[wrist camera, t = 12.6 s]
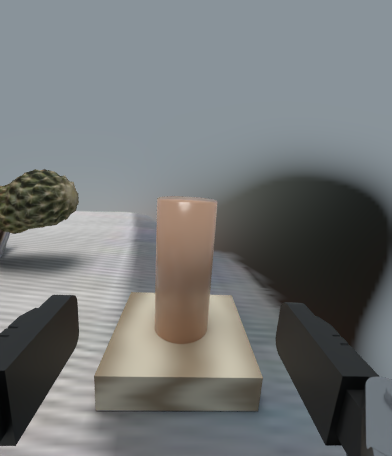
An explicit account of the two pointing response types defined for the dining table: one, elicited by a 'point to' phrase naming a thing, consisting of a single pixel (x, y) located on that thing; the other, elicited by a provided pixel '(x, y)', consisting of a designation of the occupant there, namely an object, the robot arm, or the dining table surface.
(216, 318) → the base slab
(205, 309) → the tall pink cylinder
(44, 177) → the potted plant
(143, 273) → the dining table surface
